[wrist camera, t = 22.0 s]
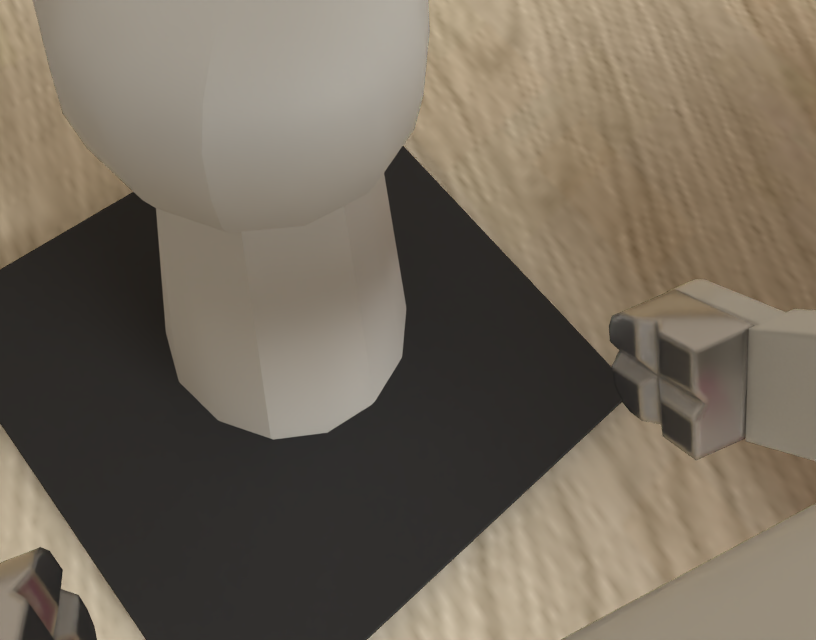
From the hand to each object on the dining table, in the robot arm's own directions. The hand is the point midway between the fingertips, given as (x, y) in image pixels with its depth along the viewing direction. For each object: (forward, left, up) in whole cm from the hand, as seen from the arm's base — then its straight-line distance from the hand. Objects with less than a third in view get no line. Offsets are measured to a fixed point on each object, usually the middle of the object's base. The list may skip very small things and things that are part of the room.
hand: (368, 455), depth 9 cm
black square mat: (+1, +4, -9) cm, 10 cm away
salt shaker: (+2, +4, -9) cm, 10 cm away
